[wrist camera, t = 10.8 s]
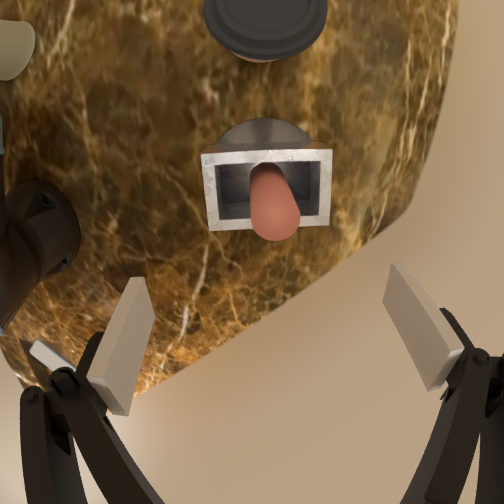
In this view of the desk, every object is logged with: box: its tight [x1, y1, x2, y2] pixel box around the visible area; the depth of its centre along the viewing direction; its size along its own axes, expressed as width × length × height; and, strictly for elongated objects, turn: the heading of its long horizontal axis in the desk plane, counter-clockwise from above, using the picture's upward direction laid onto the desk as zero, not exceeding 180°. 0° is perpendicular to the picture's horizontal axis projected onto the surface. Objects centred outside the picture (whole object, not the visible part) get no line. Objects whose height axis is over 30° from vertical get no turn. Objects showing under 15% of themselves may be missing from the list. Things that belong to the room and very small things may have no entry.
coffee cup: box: [204, 0, 327, 63], centre depth 21 cm, size 9×9×15 cm
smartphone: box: [29, 338, 77, 372], centre depth 54 cm, size 8×1×15 cm
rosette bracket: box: [201, 118, 332, 231], centre depth 33 cm, size 14×14×6 cm
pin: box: [249, 162, 300, 241], centre depth 30 cm, size 4×4×12 cm
